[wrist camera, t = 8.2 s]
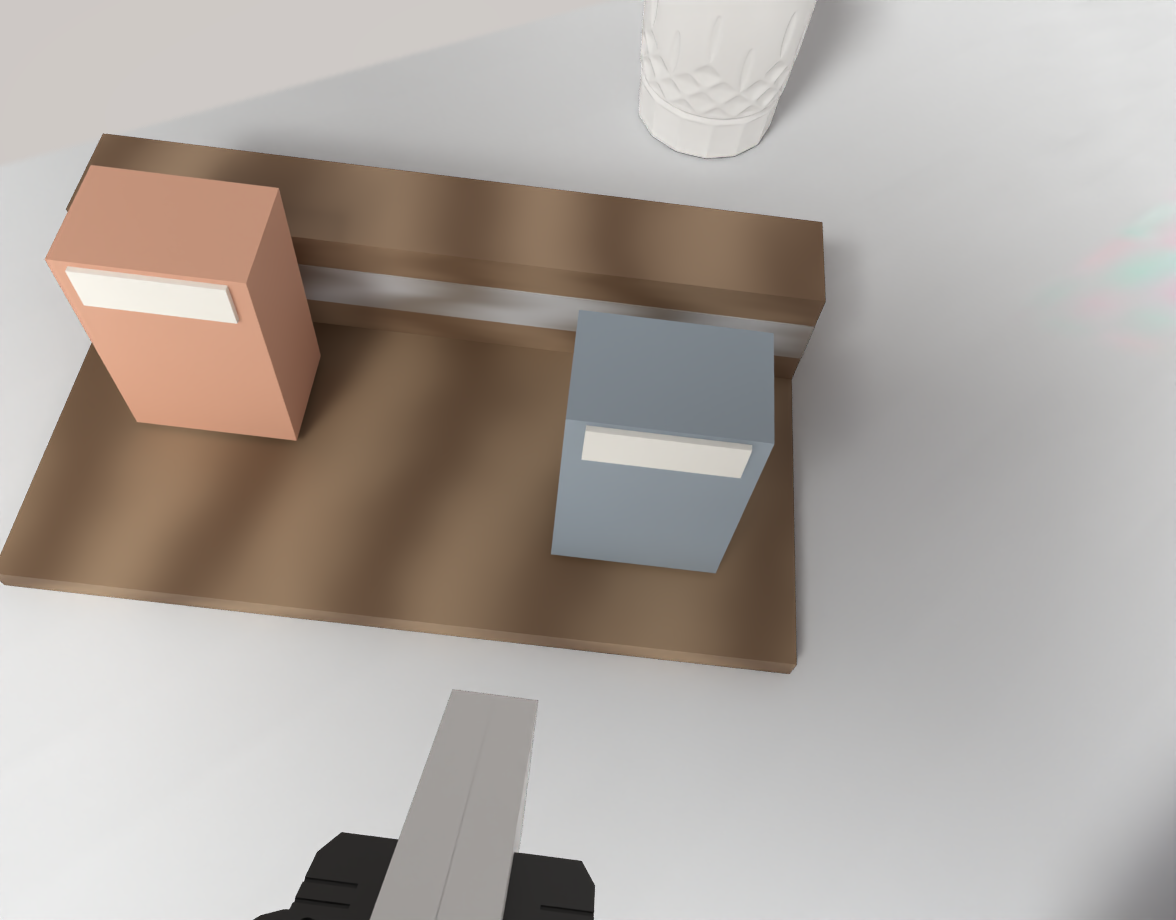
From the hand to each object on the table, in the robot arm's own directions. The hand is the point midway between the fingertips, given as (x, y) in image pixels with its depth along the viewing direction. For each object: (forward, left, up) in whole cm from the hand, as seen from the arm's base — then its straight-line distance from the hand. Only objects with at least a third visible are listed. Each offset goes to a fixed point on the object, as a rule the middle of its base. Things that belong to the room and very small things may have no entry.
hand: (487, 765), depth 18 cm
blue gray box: (+4, +13, -15) cm, 20 cm away
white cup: (+6, +37, -17) cm, 41 cm away
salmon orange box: (-12, +17, -15) cm, 26 cm away
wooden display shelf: (-4, +17, -16) cm, 24 cm away
